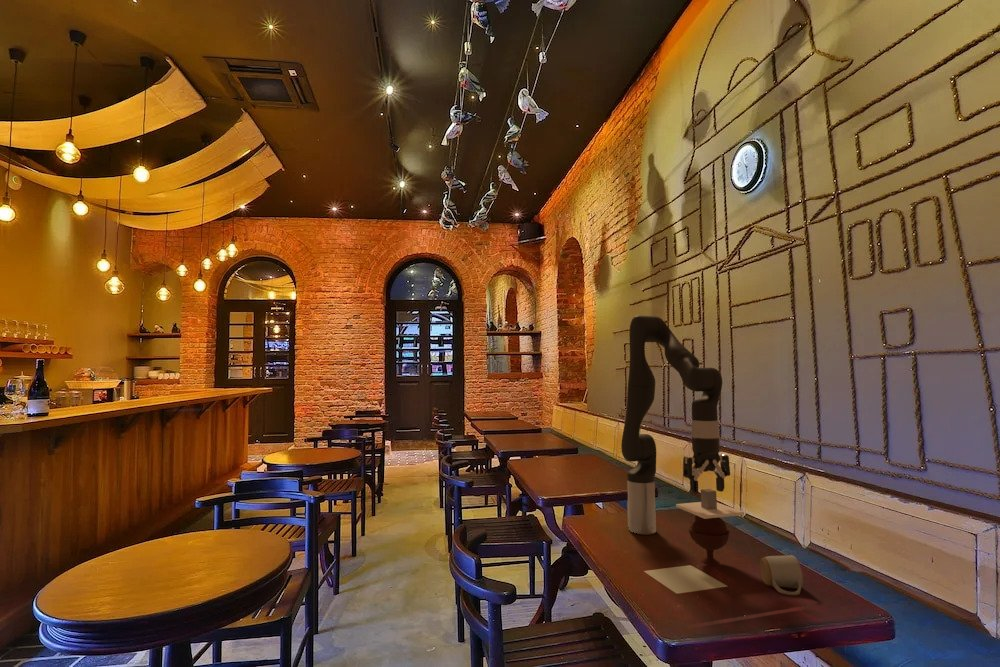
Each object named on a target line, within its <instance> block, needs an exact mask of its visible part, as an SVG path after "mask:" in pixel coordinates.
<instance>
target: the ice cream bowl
mask: <svg viewBox="0 0 1000 667" xmlns="http://www.w3.org/2000/svg"><path fill="white" fill-rule="evenodd" d="M688 532H689V535H690V537H691V539H692V541H693V542H695V544H697V545H698V546H699V547H700V548H702V549H704V550H705V551H706V557H704V558H702V559H701V560H700V562H701V563H703V564H705V565H707V566H719V565H720V561H718V560H717V559H716V558H714V552H715V551H717V550H720V549H722V548H723V547H724V546H725V545H726V544H727V543H728V541H729V536H730V530H728V527H727V523H725V521H724V520H723V518H722V517H718V518H708V519H704V518H702V517H699V516H697V515H694V522H693V523H692V525H691V526H689V529H688Z"/></svg>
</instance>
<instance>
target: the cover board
mask: <svg viewBox="0 0 1000 667" xmlns="http://www.w3.org/2000/svg"><path fill="white" fill-rule="evenodd" d="M675 507H676V508H678V509H681V510H682V511H685V512H688V513H690V514H693V515H694V516H696V515H697V516H699V517H702V518H704V519H708V518H718V517H719V518H726V517H737V516H745V512H744V511H743V510H739V509H737V508H734V507H731V506H728V505H725V504H723V503H720V502H718V499H717V490H714V489H711V488H705V489H704V488H702V489H700V501H697V502H695V501H694V502H685V503H676V504H675Z"/></svg>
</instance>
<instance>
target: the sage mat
mask: <svg viewBox="0 0 1000 667" xmlns="http://www.w3.org/2000/svg"><path fill="white" fill-rule="evenodd" d="M643 572H644V573H646V574H647V575H648V576H650V577H652V578H653V579H655V580H656V581H657V582H659V583H660V584H662V585H663V586H665V587H666V588H667V589H668V590H670V591H672V592H673V593H675V594H677V595H678V594H685V593H692V592H693V593H694V592H699V591H704V590H705V591H706V590H712V589H713V590H714V589H720V588H725V587H728V585H726V584H725V583H723V582H721V581H720V580H718V579H716V578H714V577H712V576H711V575H709V574H707V573H705V572H703V571H702V570H700V569H698V568H697V567H695V566H693V565H691V564H690V565H688V564H687V565H681V566H674V567H667V568H666V567H665V568H658V569H652V570H651V569H648V570H643Z"/></svg>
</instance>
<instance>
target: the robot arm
mask: <svg viewBox="0 0 1000 667" xmlns="http://www.w3.org/2000/svg"><path fill="white" fill-rule="evenodd" d="M628 333H629V334H628V335H629V371H628V379H627V380H628V381H627V392H626V396H627V397H626V409H625V410H626V411H625V419H624V425H623V431H622V436H621V448H620V449H621V454H622V457H623V459H624V460H625V461H627V462H631V463H632V462H634V463H635V462H637V464H636V465H635V466H634V467H633V468H632V469H629V470H628V471H627V474H626V477H627V478H626V479H627V480H626V482H627V484H626V485H627V501H626V506H627V507H626V508H627V512H626V513H627V528H628V527H629V528H628V531H629V530H630V532H631V533H633V532H634V533H633V534H636V533H637V534H638V535H653V534H655V533H657V523H656V522H657V520H656V519H657V518H656V492H655V491H656V489H655V487H656V486H655V476H656V473H657V472H656V471H657V444H656V441H655V439H654V437H653V436H652V435H651V434H648V433H642V434H641V433H640V430H641V425H642V422H643V420H644V418H645V416H646V415H647V414H648V412H649V410H650V409H651V407H652V405H653V403H654V400H655V393H656V392H655V391H656V379H655V376H654V373H653V370H652V369H651V366H650V365H649V363H648V361H647V358H646V350H645V348H646V343H657V344H659V346H661V347H663V348H664V356H665V359H666V361H667V362H668V364H670V366H671V367H672V368H673V369H674V370H675V371H677V373H678V375H679V376H680V378H681V381H682V382H683V385H684V386H685V387H686V388H687V389H689V390H690V391H691V392H702V395H701V397H700V398H699V399H695V400H693V401H692V402H691V450H692V453H693V456H692V457H691V456H686V455H685V456H684V457H683V459H682V460H683V461H682V462H683V468H682V470H683V471H682V473H683V474H682V475H683V478H687V479H688V480H689V489H690V491H691V493H693V494H695V495H698V494H699V480H698V479H699V477H700V476H701V475H702V474H703V472H713V473H714V475H715V486H716V487H715V488H716V492H721V493H722V492H724V490H725V478H726V477H730V476H731V468H730V467H731V466H730V457H729V455H727V454H723V453H720V452H721V448H720V446H721V445H720V444H721V443H720V428H719V421H718V404H719V401H720V396H721V393H722V387H723V377H722V374H721V373H720V371H719V370H718V369H717V368H714V367H700V360H699V359H698V358H697V357H696V356H695V354H693V353H692V352H691V351H690V350H688V349H687V348H686V346H684V345H683V344H682V343H681V342H680V341H679V339H677V338H678V337H676V335H675V334H674V333H673V332H672V330H671V329H670V327H669V326H668V325H667V324H666V322H665V320H664V319H663V318H661V317H659V316H657V315H655V316H654V315H635V316H633V317H632V319H631V321H630V325H629V332H628ZM719 464H720V465H719Z"/></svg>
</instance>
